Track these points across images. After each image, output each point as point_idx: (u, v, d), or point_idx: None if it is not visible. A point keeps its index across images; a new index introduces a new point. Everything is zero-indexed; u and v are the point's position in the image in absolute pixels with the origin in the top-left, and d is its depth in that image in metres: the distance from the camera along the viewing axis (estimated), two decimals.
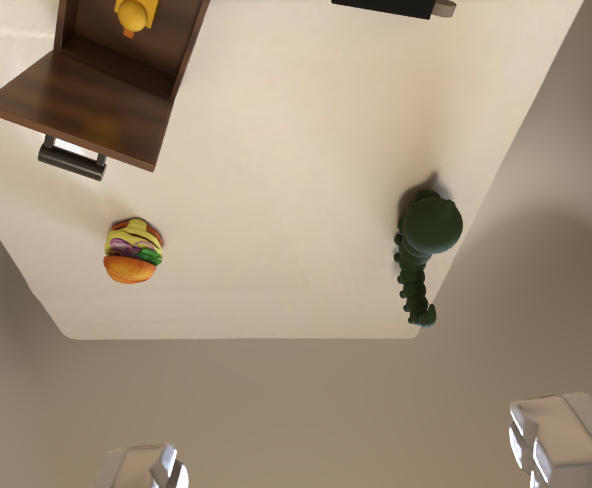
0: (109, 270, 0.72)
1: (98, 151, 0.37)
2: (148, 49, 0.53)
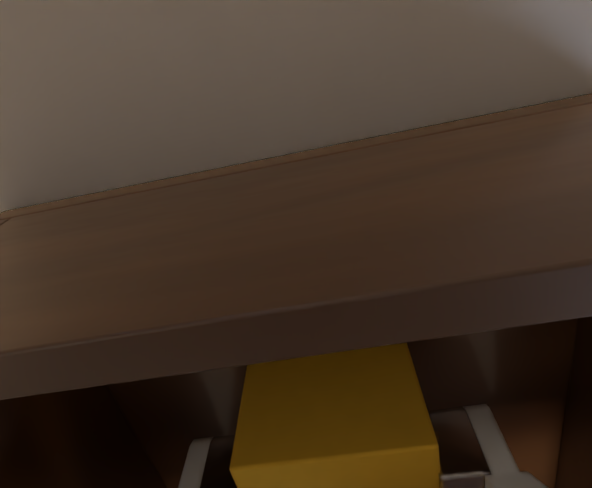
0: None
1: None
2: None
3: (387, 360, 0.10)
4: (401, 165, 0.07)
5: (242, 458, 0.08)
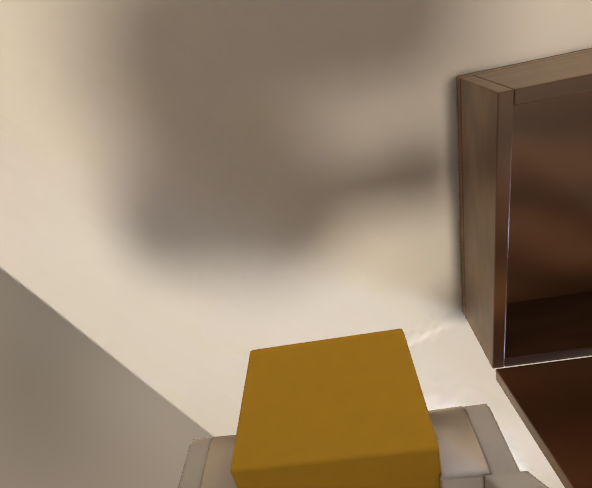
0: None
1: None
2: None
3: (387, 361, 0.10)
4: None
5: (244, 460, 0.08)
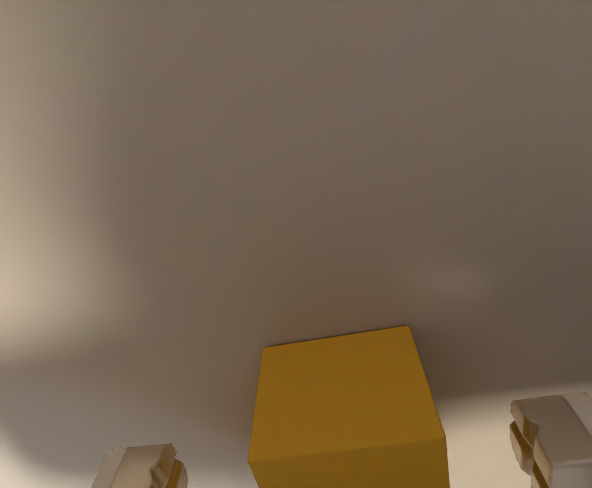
0: None
1: None
2: None
3: (395, 357, 0.10)
4: None
5: (260, 450, 0.09)
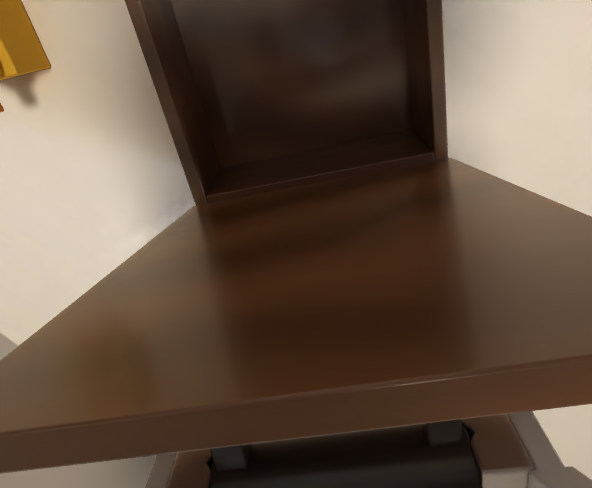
0: None
1: (454, 411, 0.06)
2: (342, 110, 0.26)
3: None
4: None
5: None
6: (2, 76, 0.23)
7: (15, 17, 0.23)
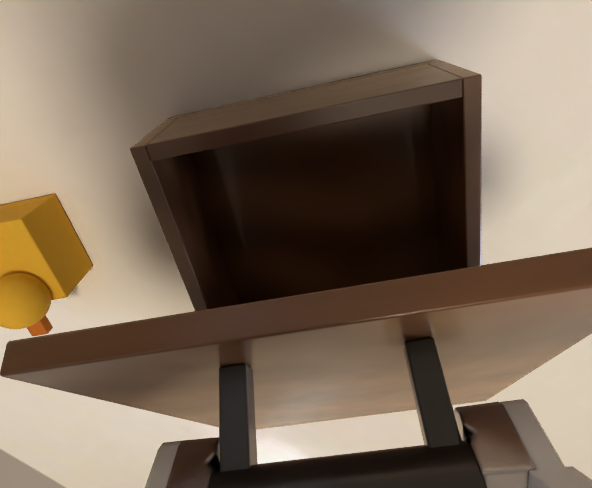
0: None
1: (413, 304, 0.08)
2: None
3: (35, 203, 0.23)
4: (344, 87, 0.19)
5: None
6: (51, 299, 0.24)
7: (63, 237, 0.24)
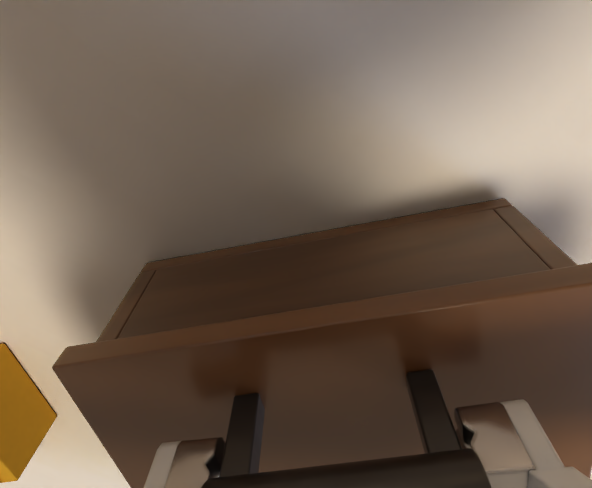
0: None
1: (403, 307, 0.10)
2: None
3: None
4: (382, 249, 0.14)
5: None
6: None
7: (14, 398, 0.19)
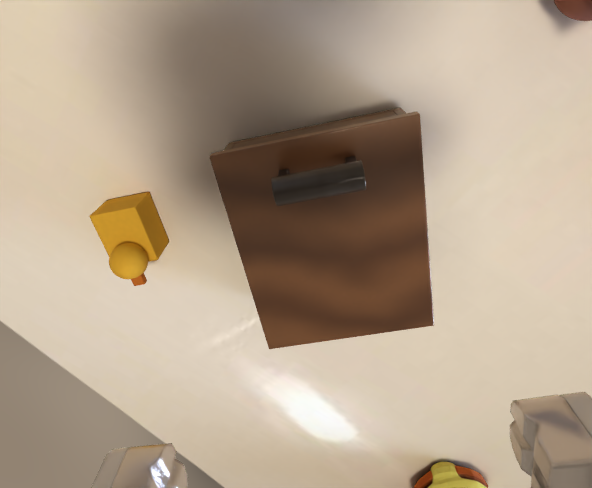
0: None
1: (342, 128, 0.27)
2: None
3: (138, 197, 0.35)
4: (341, 126, 0.31)
5: (93, 214, 0.34)
6: (147, 261, 0.36)
7: (154, 220, 0.36)
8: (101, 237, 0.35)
